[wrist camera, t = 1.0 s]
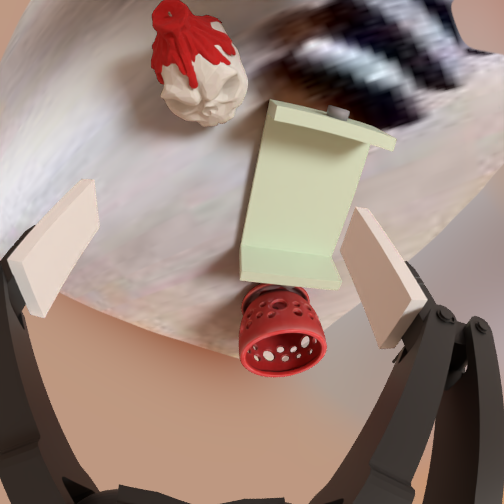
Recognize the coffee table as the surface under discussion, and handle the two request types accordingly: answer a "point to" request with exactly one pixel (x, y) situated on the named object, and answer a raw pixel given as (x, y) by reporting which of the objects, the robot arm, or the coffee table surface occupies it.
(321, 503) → the robot arm
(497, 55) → the coffee table surface
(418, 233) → the coffee table surface
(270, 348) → the plant pot
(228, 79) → the candle
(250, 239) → the holder
